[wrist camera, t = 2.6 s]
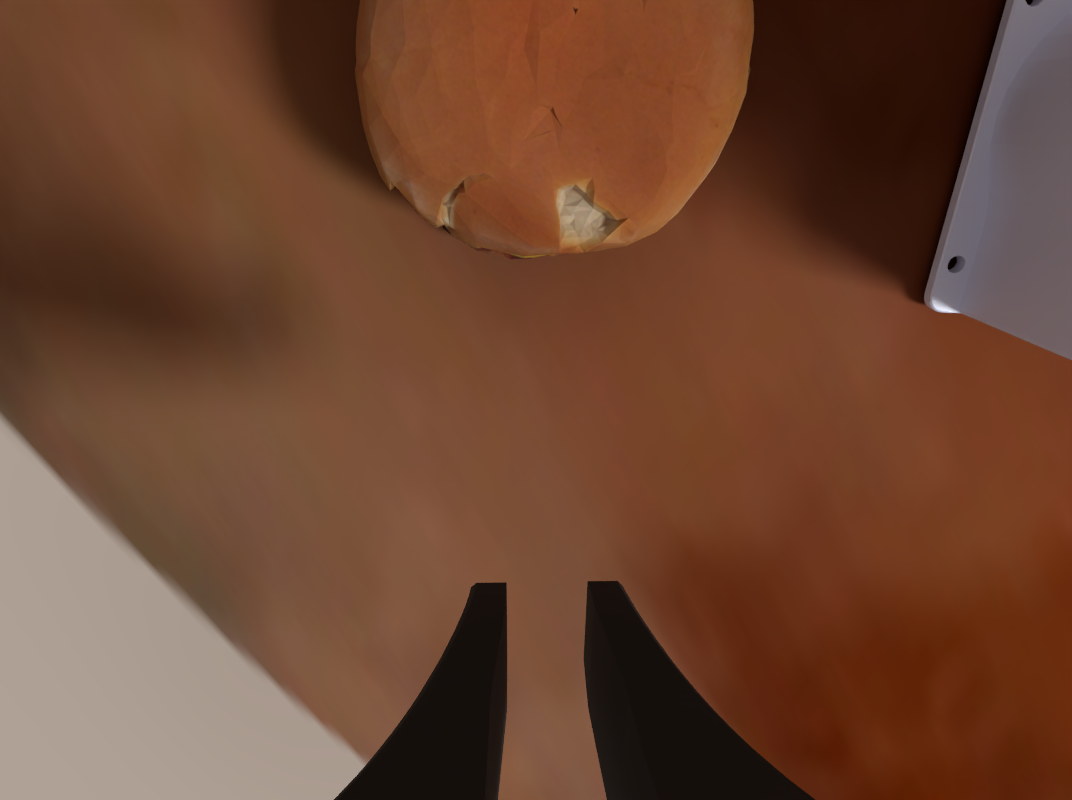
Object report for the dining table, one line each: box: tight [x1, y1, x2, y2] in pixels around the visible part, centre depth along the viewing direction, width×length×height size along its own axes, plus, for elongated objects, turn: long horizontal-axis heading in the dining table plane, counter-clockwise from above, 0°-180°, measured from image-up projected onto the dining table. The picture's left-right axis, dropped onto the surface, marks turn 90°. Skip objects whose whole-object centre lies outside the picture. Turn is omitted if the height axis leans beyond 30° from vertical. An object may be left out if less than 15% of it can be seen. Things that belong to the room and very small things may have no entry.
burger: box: [355, 0, 755, 259], centre depth 16 cm, size 10×9×5 cm
